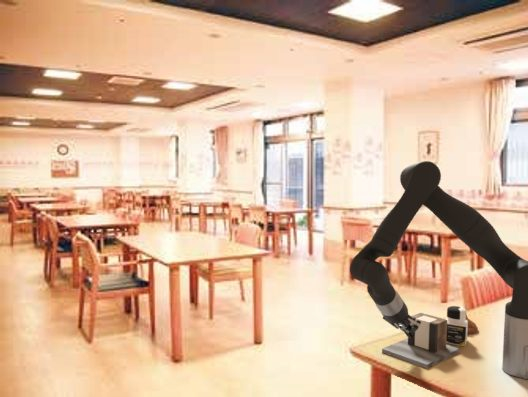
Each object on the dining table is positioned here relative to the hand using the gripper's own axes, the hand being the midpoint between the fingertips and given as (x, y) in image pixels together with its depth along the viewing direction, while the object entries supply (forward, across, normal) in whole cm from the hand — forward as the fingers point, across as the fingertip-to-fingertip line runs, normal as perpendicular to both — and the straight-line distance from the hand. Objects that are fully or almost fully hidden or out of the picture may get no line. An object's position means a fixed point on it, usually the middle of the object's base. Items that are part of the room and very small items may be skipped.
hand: (411, 335), depth 150 cm
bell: (+32, +3, -22) cm, 39 cm away
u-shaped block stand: (+9, 0, +1) cm, 9 cm away
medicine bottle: (+22, -2, -12) cm, 25 cm away
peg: (+10, 0, -2) cm, 10 cm away
